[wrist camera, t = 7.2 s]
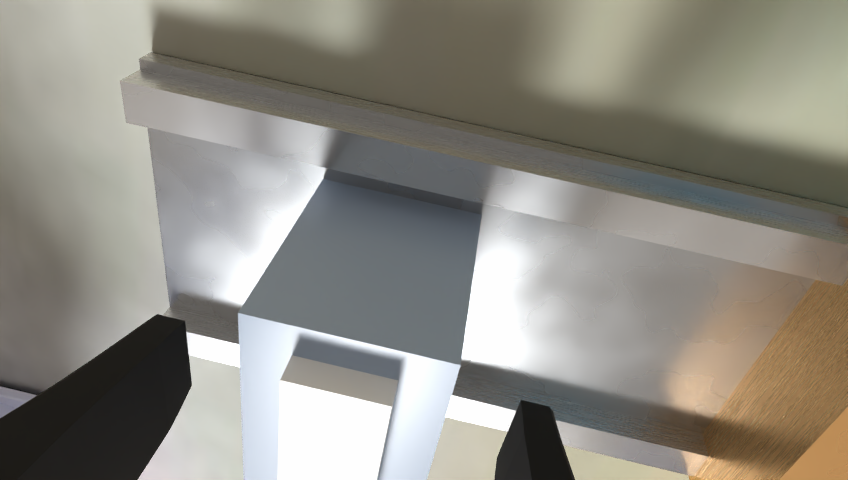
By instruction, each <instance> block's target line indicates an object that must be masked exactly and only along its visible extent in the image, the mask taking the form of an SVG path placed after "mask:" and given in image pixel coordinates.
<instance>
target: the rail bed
mask: <svg viewBox="0 0 848 480" xmlns="http://www.w3.org/2000/svg"><path fill="white" fill-rule="evenodd" d="M139 62H140V70H138V71H137V72H135V73H133V74H131V75H130V76H128V77H126V78H124V79H122V80H121V81H120V84H121V90H122V97H123V104H124V111H125V118H126V123H130V124H135V125H139V126H143V127H148V134H149V142H150V150H151V158H152V166H153V174H154V182H155V190H156V198H157V206H158V215H159V223H160V231H161V239H162V247H163V255H164V263H165V271H166V279H167V287H168V295H169V303H170V308H169V309H168V310H167V311H166V313H165V314H164V315H163V316H167V317H171V318H175V319H179V320H184V321H185V324H186V334H187V344H188V353H189V355H191V356H195V357H199V358H203V359H207V360H212V361H216V362H220V363H224V364H228V365H232V366H236V367H240V358H239V330H238V312H239V310H240V309H241V307H242V306H243V304H244V303H245V301H246V299H247V298H248V296H249V295H250V293H251V292H252V290H253V288H254V287H255V285H256V284H257V282H258V281H259V279H260V277H261V276H262V274H263V273H264V271H265V270H266V268H267V266H268V265H269V263H270V262H271V260H272V259H273V257H274V255H275V254H276V252H277V251H278V249H279V248H280V246H281V244H282V243H283V241H284V240H285V238H286V237H287V235H288V233H289V232H290V230H291V229H292V227H293V226H294V224H295V222H296V221H297V219H298V218H299V216H300V215H301V213H302V211H303V210H304V208H305V207H306V205H307V204H308V202H309V200H310V199H311V197H312V196H313V194H314V193H315V191H316V189H317V188H318V186H319V185H320V183H321V182H322V180H323V179H326V180H330V181H334V182H339V183H343V184H348V185H352V186H357V187H361V188H365V189H370V190H374V191H379V192H383V193H388V194H392V195H397V196H401V197H405V198H410V199H414V200H419V201H423V202H428V203H432V204H436V205H441V206H445V207H450V208H454V209H459V210H463V211H468V212H472V213H476V214H481V215H482V217H481V224H480V231H479V238H478V245H477V252H476V259H475V267H474V274H473V281H472V288H471V295H470V302H469V309H468V316H467V324H466V331H465V338H464V345H463V352H462V359H461V366H460V369H459V373H458V376H457V379H456V383H455V386H454V390H453V393H452V396H451V400H450V403H449V406H448V410H447V413H446V417H448V418H453V419H457V420H461V421H465V422H469V423H473V424H478V425H482V426H486V427H490V428H494V429H498V430H503V431H507V432H508V430H509V427H510V425H511V423H512V420H513V418H514V415H515V413H516V410H517V408H518V406H519V403H520V401H521V400H524V401H528V402H532V403H537V404H541V405H545V406H549V407H550V408H551V409H552V410H553V412H554V416H555V420H556V423H557V427H558V430H559V433H560V437H561V440H562V443H563V445H565V446H569V447H573V448H577V449H581V450H586V451H590V452H594V453H598V454H602V455H606V456H611V457H615V458H619V459H623V460H627V461H631V462H636V463H640V464H644V465H648V466H652V467H656V468H660V469H665V470H669V471H673V472H677V473H681V474H685V475H688V476H689V480H848V208H845V207H841V206H836V205H832V204H827V203H823V202H818V201H814V200H809V199H805V198H800V197H796V196H792V195H787V194H783V193H778V192H774V191H769V190H765V189H760V188H756V187H751V186H747V185H742V184H738V183H733V182H729V181H724V180H720V179H715V178H711V177H706V176H702V175H697V174H693V173H689V172H684V171H680V170H675V169H671V168H666V167H662V166H657V165H653V164H648V163H644V162H639V161H635V160H630V159H626V158H621V157H617V156H612V155H608V154H603V153H599V152H595V151H590V150H586V149H581V148H577V147H572V146H568V145H563V144H559V143H554V142H550V141H545V140H541V139H536V138H532V137H527V136H523V135H518V134H514V133H509V132H505V131H501V130H496V129H492V128H487V127H483V126H478V125H474V124H469V123H465V122H460V121H456V120H451V119H447V118H442V117H438V116H433V115H429V114H424V113H420V112H415V111H411V110H407V109H402V108H398V107H393V106H389V105H384V104H380V103H375V102H371V101H366V100H362V99H357V98H353V97H348V96H344V95H339V94H335V93H330V92H326V91H321V90H317V89H313V88H308V87H304V86H299V85H295V84H290V83H286V82H281V81H277V80H272V79H268V78H263V77H259V76H254V75H250V74H245V73H241V72H236V71H232V70H227V69H223V68H219V67H214V66H210V65H205V64H201V63H196V62H192V61H187V60H183V59H178V58H174V57H169V56H165V55H160V54H156V53H149V54H147V55H145V56H143V57H142V58H140V59H139Z"/></svg>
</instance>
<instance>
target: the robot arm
mask: <svg viewBox="0 0 848 480" xmlns="http://www.w3.org/2000/svg"><path fill="white" fill-rule="evenodd" d="M191 386H192V383H191V373H190V363H189V353H188V344H187V334H186V324H185V321H184V320H179V319H175V318H171V317H167V316H162V315H158V314H157V315H156V316H154V317H152V318H151V319H149V320H148V321H147V322H145V323H144V324H142V325H141V326H139V327H138V328H136V329H135V330H134V331H132V332H131V333H129V334H128V335H127V336H125V337H124V338H122V339H121V340H119V341H118V342H117V343H115V344H114V345H112V346H111V347H109V348H108V349H107V350H105V351H104V352H102V353H101V354H99V355H98V356H96V357H95V358H94V359H92V360H91V361H89V362H88V363H86V364H85V365H83V366H82V367H80V368H79V369H77V370H76V371H74V372H73V373H71V374H70V375H68V376H67V377H65V378H64V379H62V380H61V381H59V382H58V383H56V384H55V385H53V386H52V387H50V388H48V389H47V390H45V391H44V392H42V393H40V394H39V395H34V394H30V393H26V392H22V391H18V390H14V389H9V388H5V387H1V386H0V480H137V479H138V478H139V476H140V475H141V473H142V472H143V470H144V469H145V467H146V466H147V464H148V463H149V461H150V460H151V458H152V457H153V455H154V453H155V452H156V450H157V449H158V447H159V446H160V444H161V443H162V441H163V439H164V438H165V436H166V435H167V433H168V432H169V430H170V428H171V426H172V424H173V422H174V420H175V418H176V416H177V415H178V413H179V411H180V409H181V407H182V404H183V402H184V400H185V398H186V396H187V394H188V392H189V390H190V388H191ZM495 480H575V478H574V475H573V473H572V470H571V467H570V464H569V461H568V458H567V455H566V452H565V449H564V446H563V443H562V440H561V437H560V433H559V430H558V427H557V423H556V420H555V416H554V412H553V410H552V409H551V408H550V407H549V406H545V405H541V404H537V403H532V402H528V401H524V400H521V401H520V403H519V406H518V408H517V410H516V413H515V415H514V418H513V420H512V423H511V425H510V427H509V430H508V432H507V435H506V437H505V440H504V442H503V445H502V447H501V449H500V452H499V454H498V457H497V462H496V471H495Z"/></svg>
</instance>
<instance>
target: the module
mask: <svg viewBox="0 0 848 480" xmlns="http://www.w3.org/2000/svg"><path fill="white" fill-rule="evenodd" d="M481 217H482V215H481V214H476V213H472V212H468V211H463V210H459V209H454V208H450V207H445V206H441V205H436V204H432V203H428V202H423V201H419V200H414V199H410V198H405V197H401V196H397V195H392V194H388V193H383V192H379V191H374V190H370V189H365V188H361V187H357V186H352V185H348V184H343V183H339V182H334V181H330V180H326V179H323V180H322V182H321V183H320V185H319V186H318V188H317V189H316V191H315V193H314V194H313V196H312V197H311V199H310V200H309V202H308V204H307V205H306V207H305V208H304V210H303V211H302V213H301V215H300V216H299V218H298V219H297V221H296V222H295V224H294V226H293V227H292V229H291V230H290V232H289V233H288V235H287V237H286V238H285V240H284V241H283V243H282V244H281V246H280V248H279V249H278V251H277V252H276V254H275V255H274V257H273V259H272V260H271V262H270V263H269V265H268V266H267V268H266V270H265V271H264V273H263V274H262V276H261V277H260V279H259V281H258V282H257V284H256V285H255V287H254V288H253V290H252V292H251V293H250V295H249V296H248V298H247V299H246V301H245V303H244V304H243V306H242V307H241V309H240V310H239V312H238V330H239V358H240V386H241V414H242V443H243V471H244V480H427V478H428V474H429V471H430V467H431V464H432V461H433V457H434V454H435V450H436V447H437V444H438V440H439V437H440V434H441V430H442V427H443V423H444V420H445V417H446V413H447V410H448V406H449V403H450V400H451V396H452V393H453V390H454V386H455V383H456V379H457V376H458V373H459V369H460V366H461V359H462V352H463V345H464V338H465V331H466V324H467V316H468V309H469V302H470V295H471V288H472V281H473V274H474V267H475V259H476V252H477V245H478V238H479V231H480V224H481Z"/></svg>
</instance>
